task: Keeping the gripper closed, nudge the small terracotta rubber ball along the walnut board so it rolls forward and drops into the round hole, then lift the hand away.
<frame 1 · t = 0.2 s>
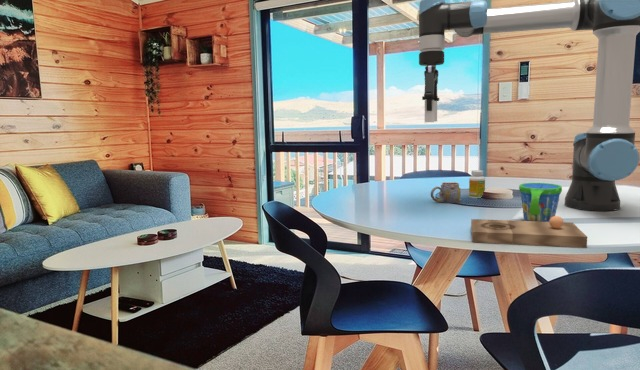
hand: (431, 122, 142), 28 cm above the table, fingers open, 13 cm apart
mug: (444, 202, 159), on the table
deck: (523, 237, 112), on the table
ball: (556, 222, 109), point 4 cm above the table, touching deck
supplement bottle: (476, 198, 166), on the table
snack cup: (538, 222, 127), on the table
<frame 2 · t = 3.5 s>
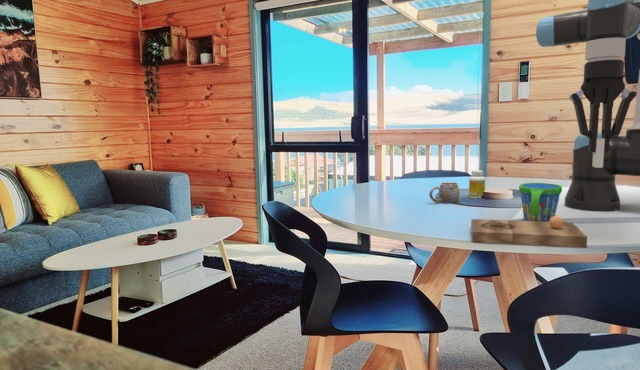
hand: (597, 166, 105), 17 cm above the table, fingers closed
nothing on the table moved.
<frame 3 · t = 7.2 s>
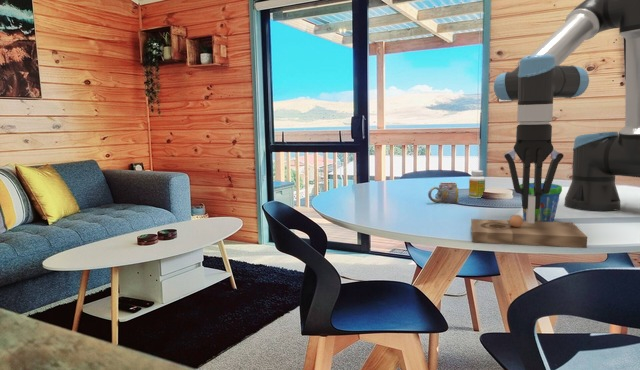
hand: (530, 222, 111), 4 cm above the table, fingers closed
ball: (516, 221, 111), point 4 cm above the table, tilted 27°, touching deck
everything else where it was.
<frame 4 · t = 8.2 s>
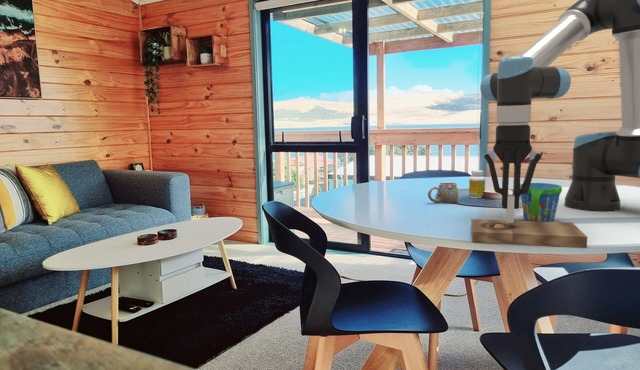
hand: (509, 221, 112), 4 cm above the table, fingers closed
ball: (499, 230, 113), point 1 cm above the table, tilted 124°
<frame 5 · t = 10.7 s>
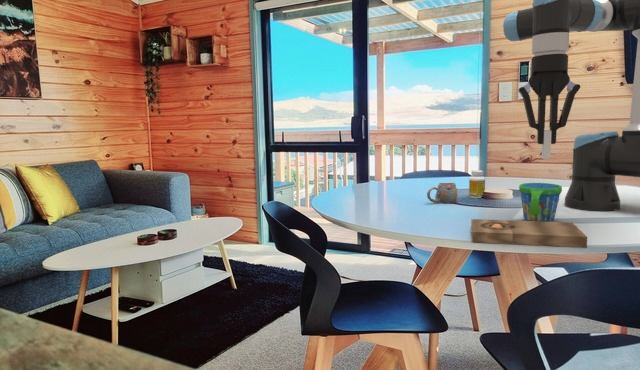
hand: (545, 158, 108), 19 cm above the table, fingers closed
ball: (496, 229, 113), point 1 cm above the table, tilted 136°
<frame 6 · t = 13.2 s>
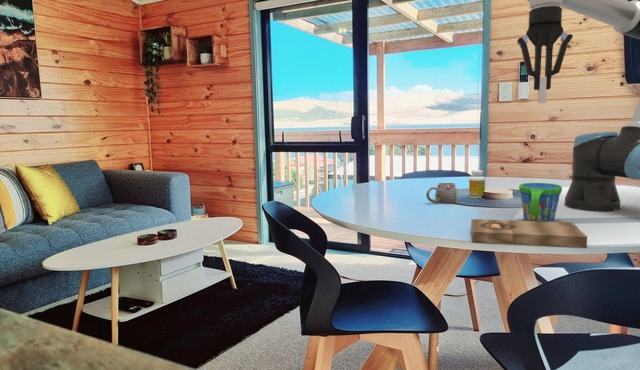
hand: (541, 102, 120), 32 cm above the table, fingers closed
at the end: ball 0.5 cm from the target spot in the deck, point 1.5 cm above the deck's base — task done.
